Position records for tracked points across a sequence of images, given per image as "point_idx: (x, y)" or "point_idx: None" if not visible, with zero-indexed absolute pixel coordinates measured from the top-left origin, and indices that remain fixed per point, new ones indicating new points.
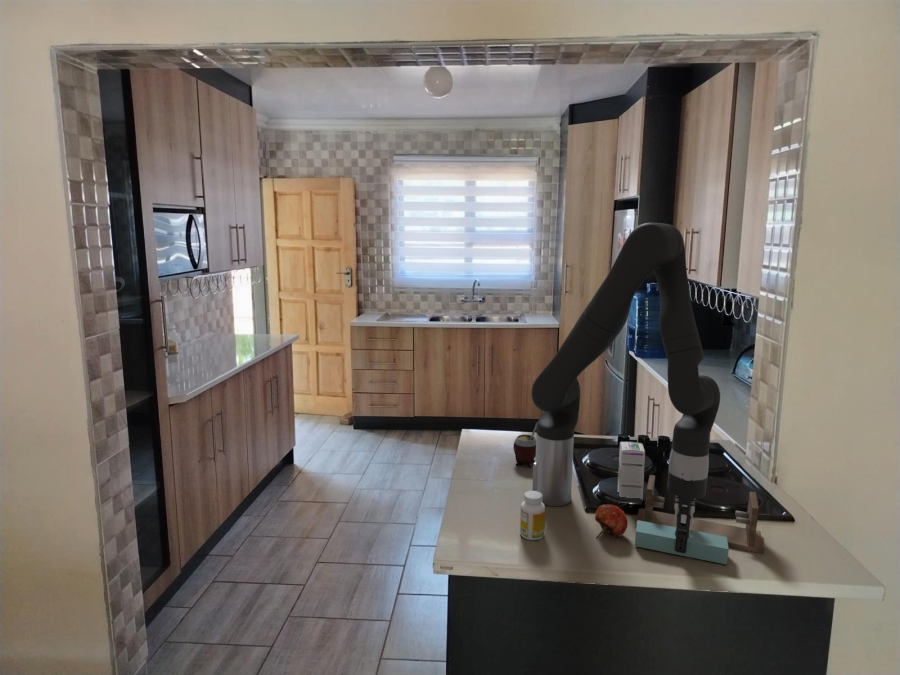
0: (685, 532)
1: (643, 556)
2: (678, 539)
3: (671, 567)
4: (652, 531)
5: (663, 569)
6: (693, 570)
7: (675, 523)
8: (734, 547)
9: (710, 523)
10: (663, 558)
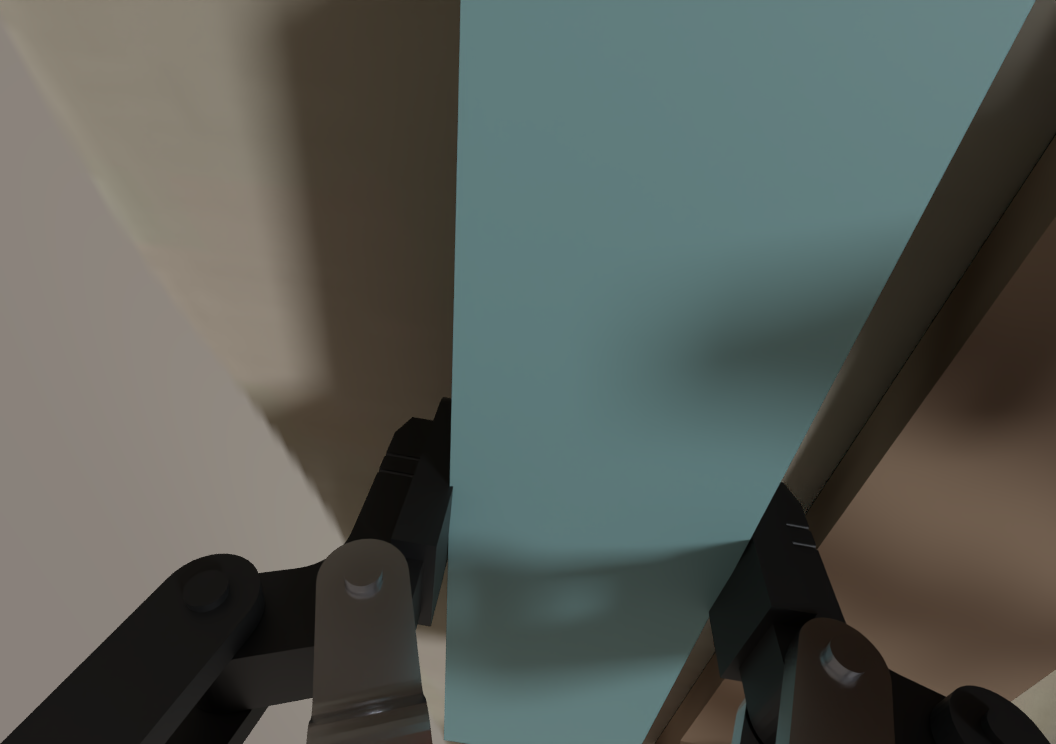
0: (247, 706)
1: (346, 17)
2: (355, 528)
3: (277, 305)
4: (560, 222)
5: (201, 231)
6: (323, 448)
7: (310, 723)
8: (699, 680)
9: (1006, 675)
10: (402, 254)
